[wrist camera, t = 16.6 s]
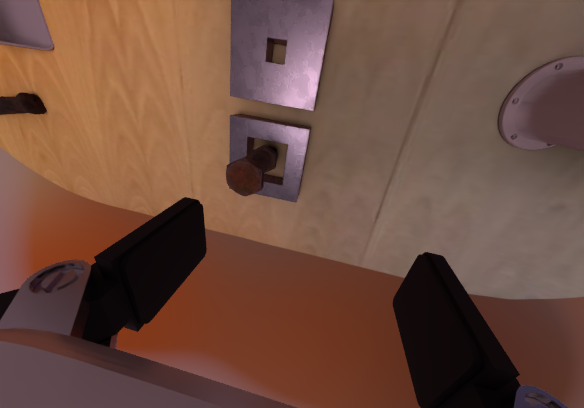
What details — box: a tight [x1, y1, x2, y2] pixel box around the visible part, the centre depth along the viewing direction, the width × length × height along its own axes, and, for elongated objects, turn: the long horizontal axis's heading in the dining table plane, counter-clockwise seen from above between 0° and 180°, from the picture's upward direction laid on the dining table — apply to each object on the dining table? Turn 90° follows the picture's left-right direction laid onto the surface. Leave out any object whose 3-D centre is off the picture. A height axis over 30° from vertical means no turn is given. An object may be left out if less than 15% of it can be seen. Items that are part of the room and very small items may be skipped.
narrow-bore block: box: [230, 0, 334, 111], centre depth 33 cm, size 14×14×4 cm
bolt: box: [226, 145, 277, 196], centre depth 36 cm, size 6×5×15 cm
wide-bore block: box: [229, 114, 311, 202], centre depth 41 cm, size 14×14×4 cm
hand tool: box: [0, 93, 47, 115], centre depth 45 cm, size 19×4×5 cm, turn 92°
